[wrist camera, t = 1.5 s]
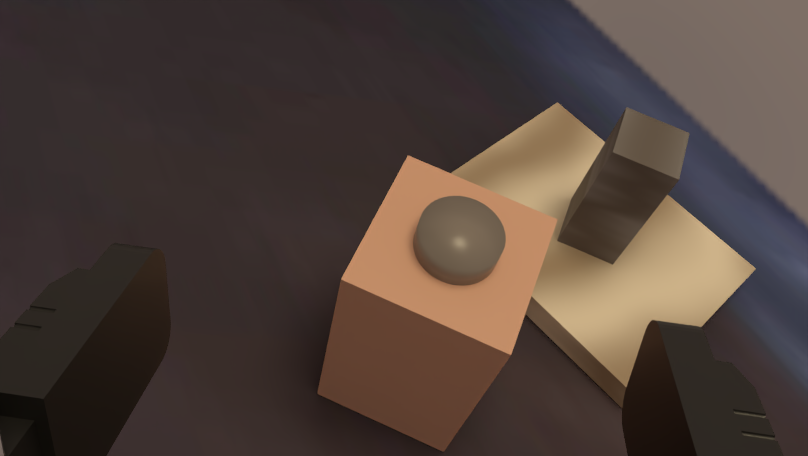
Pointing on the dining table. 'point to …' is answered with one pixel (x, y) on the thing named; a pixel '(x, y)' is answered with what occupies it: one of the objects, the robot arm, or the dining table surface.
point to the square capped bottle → (432, 302)
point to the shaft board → (591, 286)
